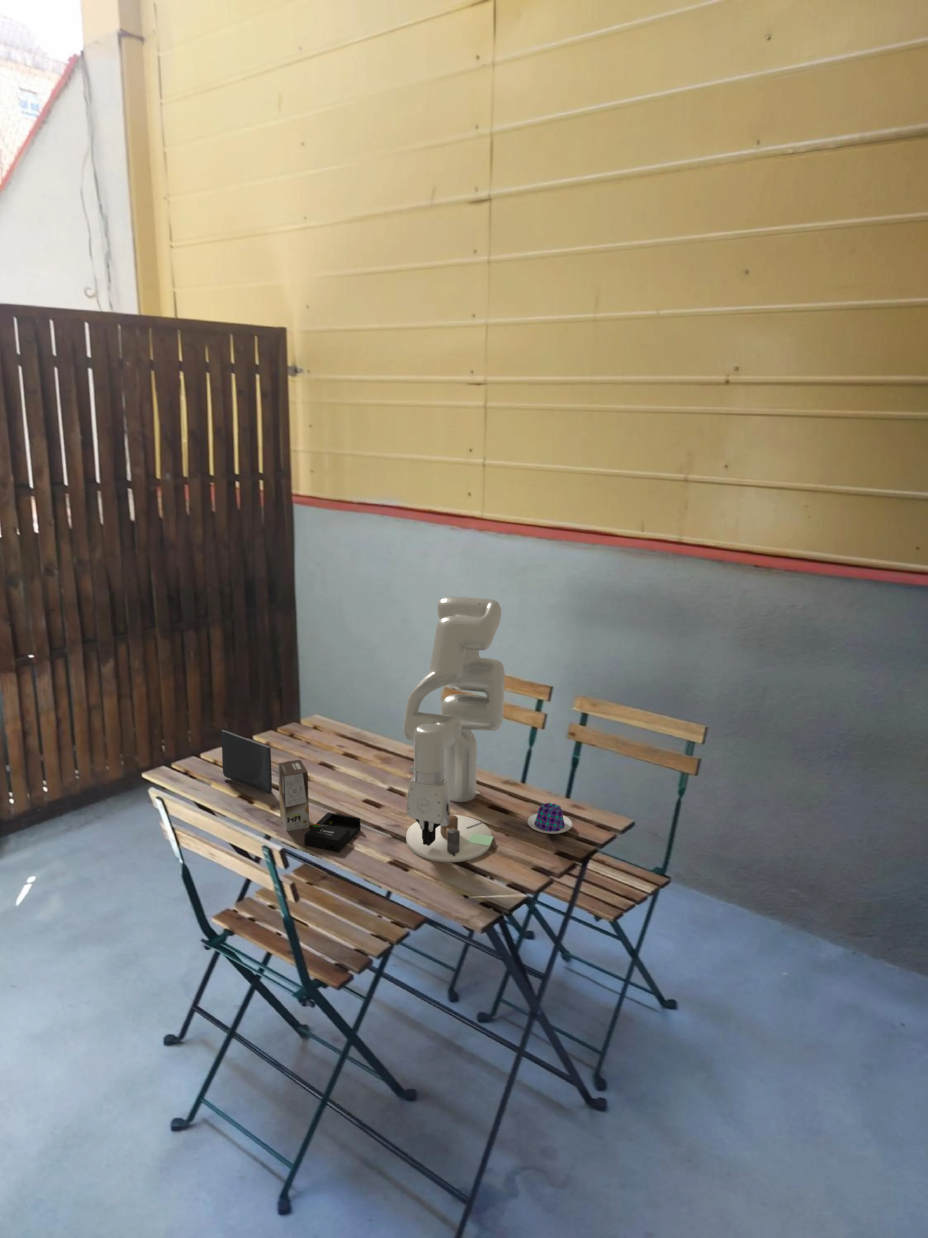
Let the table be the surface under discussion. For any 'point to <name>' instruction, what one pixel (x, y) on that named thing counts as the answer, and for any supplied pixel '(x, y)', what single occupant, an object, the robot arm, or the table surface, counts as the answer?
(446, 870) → the table surface
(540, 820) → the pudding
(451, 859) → the dial plate
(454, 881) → the table surface
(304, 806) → the coffee box
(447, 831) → the peg lever
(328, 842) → the battery charger
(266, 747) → the dark grey flat panel
